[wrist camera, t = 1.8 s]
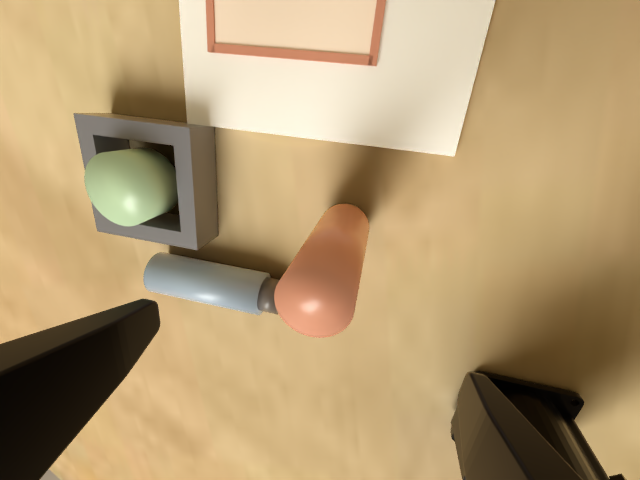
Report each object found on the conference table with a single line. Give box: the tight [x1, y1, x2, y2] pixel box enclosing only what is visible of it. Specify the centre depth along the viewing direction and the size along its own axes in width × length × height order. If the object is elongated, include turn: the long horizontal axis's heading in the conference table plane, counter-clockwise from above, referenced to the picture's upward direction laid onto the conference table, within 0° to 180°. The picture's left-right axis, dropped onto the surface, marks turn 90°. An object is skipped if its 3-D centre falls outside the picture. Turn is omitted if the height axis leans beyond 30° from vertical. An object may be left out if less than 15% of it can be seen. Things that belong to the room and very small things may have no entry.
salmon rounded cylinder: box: [274, 203, 369, 338], centre depth 15 cm, size 3×3×9 cm
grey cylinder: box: [144, 252, 279, 315], centre depth 21 cm, size 9×3×3 cm, turn 84°
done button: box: [84, 147, 178, 226], centre depth 18 cm, size 4×4×2 cm
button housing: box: [74, 113, 218, 250], centre depth 19 cm, size 7×7×2 cm
